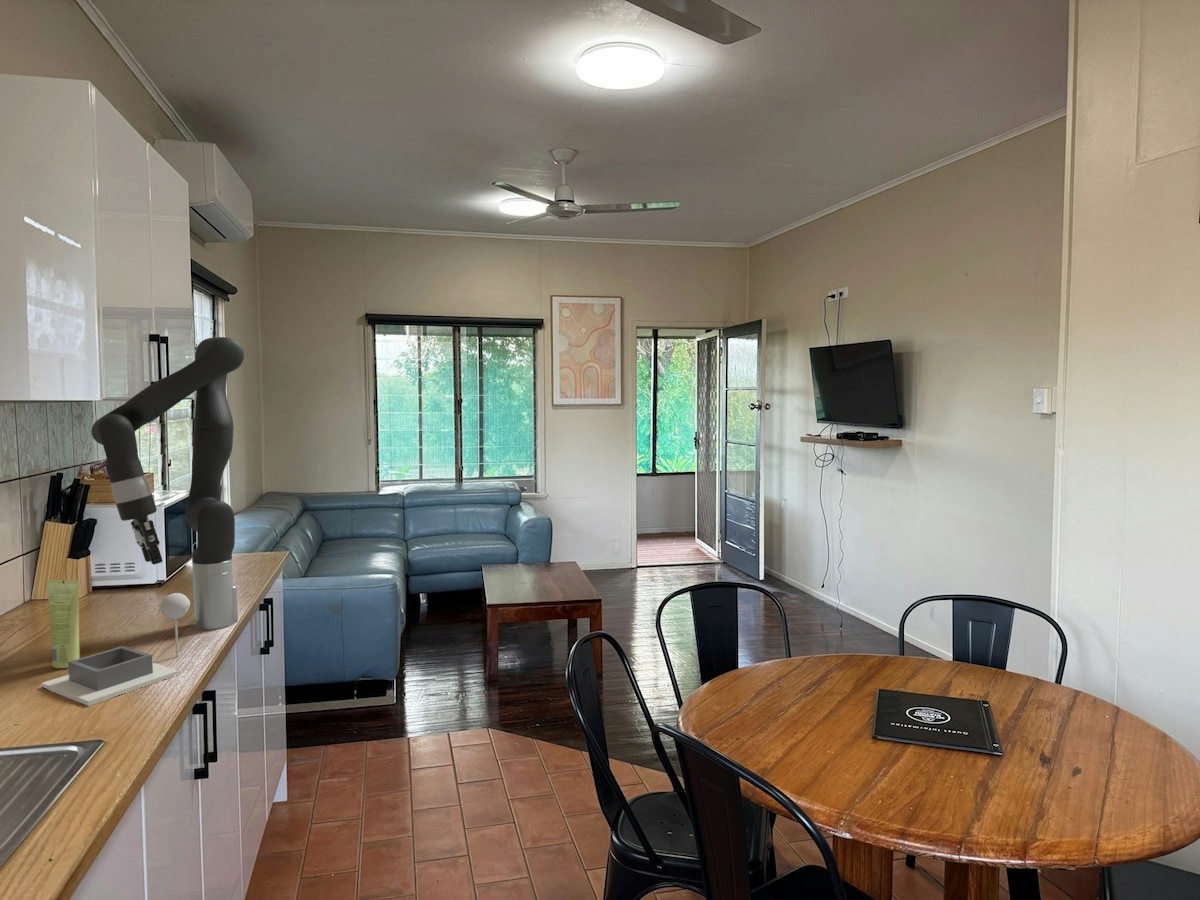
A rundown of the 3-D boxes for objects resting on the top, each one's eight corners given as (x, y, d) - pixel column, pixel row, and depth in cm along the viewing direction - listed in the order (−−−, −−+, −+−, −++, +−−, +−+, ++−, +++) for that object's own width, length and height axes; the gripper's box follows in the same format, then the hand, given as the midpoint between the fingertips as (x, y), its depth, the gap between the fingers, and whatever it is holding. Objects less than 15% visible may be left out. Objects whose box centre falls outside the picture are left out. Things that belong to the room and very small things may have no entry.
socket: (131, 659, 169) (130, 638, 169) (178, 675, 161) (177, 652, 160) (41, 687, 154) (40, 664, 153) (88, 706, 145) (87, 681, 144)
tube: (82, 658, 170) (77, 575, 168) (84, 665, 166) (79, 580, 164) (51, 664, 166) (46, 579, 164) (52, 671, 162) (47, 584, 160)
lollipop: (161, 663, 167) (158, 598, 166) (162, 654, 173) (159, 591, 171) (192, 658, 170) (189, 595, 169) (192, 650, 175) (190, 588, 174)
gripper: (156, 493, 172) (177, 558, 174) (146, 492, 183) (165, 554, 185) (120, 502, 167) (141, 570, 170) (111, 501, 178) (131, 565, 180)
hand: (154, 562), depth 177 cm, fingers open, 8 cm apart
